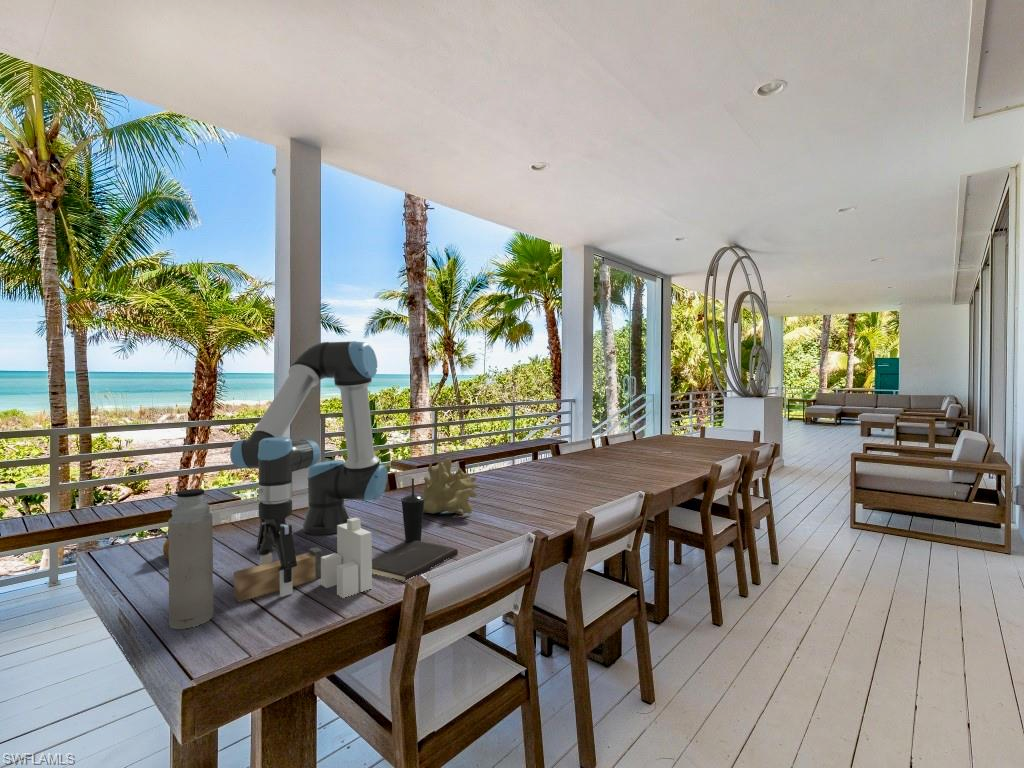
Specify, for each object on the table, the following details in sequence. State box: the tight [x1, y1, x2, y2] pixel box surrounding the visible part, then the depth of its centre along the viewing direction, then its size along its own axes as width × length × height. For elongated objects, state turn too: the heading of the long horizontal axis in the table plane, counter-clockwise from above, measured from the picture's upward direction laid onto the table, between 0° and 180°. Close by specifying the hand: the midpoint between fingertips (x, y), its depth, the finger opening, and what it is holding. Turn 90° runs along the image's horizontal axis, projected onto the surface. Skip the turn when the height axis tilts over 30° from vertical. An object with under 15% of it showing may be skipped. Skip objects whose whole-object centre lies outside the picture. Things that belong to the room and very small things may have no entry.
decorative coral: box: [421, 457, 479, 516], centre depth 191 cm, size 26×22×25 cm
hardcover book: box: [372, 540, 459, 581], centre depth 140 cm, size 16×23×2 cm
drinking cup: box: [400, 478, 425, 544], centre depth 158 cm, size 8×8×20 cm
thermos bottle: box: [167, 488, 214, 630], centre depth 106 cm, size 8×8×28 cm
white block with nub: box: [320, 517, 373, 599], centre depth 123 cm, size 12×8×16 cm, turn 46°
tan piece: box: [233, 546, 323, 602], centre depth 123 cm, size 20×4×7 cm, turn 136°
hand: (275, 587), depth 123 cm, fingers open, 12 cm apart
